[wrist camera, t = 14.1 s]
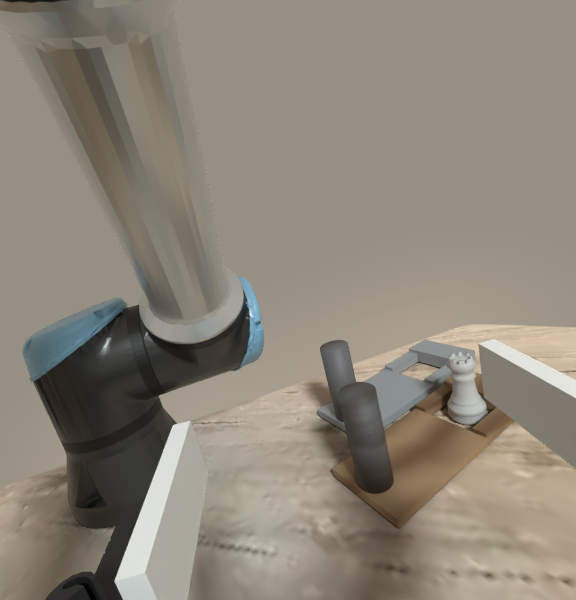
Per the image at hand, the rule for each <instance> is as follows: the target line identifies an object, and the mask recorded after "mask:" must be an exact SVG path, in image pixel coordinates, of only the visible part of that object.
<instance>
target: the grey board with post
mask: <svg viewBox="0 0 576 600" xmlns="http://www.w3.org/2000/svg"><path fill="white" fill-rule="evenodd" d="M320 352H321V356H322V360H323V364H324V369H325V373H326V377H327V381H328V386H329V390H330V394H331V399H332V401H331V402H329V403H328V404H326V405H324V406H323V407H321V408H319V409H317V410H318V414H319V416H320V417H322V418H324V419H325V420H327V421H329V422H330V423H332V424H334V425H335V426H337V427H338V428H340V429H342V430H343V431H345V432H346V429H345V425H344V421H343V416H342V412H341V408H340V403H339V399H338V391H339V390H340V389H341V388H342V387H344V386H345V385H348V384H351V383H355V382H356V380H355V375H354V370H353V366H352V361H351V356H350V352H349V347H348V343H347V342H346V341H343V340H336V341H331V342H328V343H325V344H323V345H322V346H321V347H320ZM457 352H462V355H465V353H466V352H467V353H470V355H472V359H473V360H474V361H476V359H475V351H474V350H470V349H465V348H460V347H456V346H451V345H446V344H441V343H436V342H432V341H427V340H423V341H421V342H420V343H418V344H416V345H415V346H413V347H411V348H409V352H408V353H406V354H404V355H403V356H401V357H399V358H398V359H396V360H394V361H393V362H391V363H389V364H387V365H386V366H385V369H384V370H383V371H381V372H379V373H378V374H376V375H374V376H373V377H371V378H369V379H368V380H366V381H364V382H366V383H370V384H372V385H374V386H375V388H376V392H377V397H378V402H379V407H380V412H381V417H382V422H383V427H386V426H387V425H389V424H390V423H391V422H393V421H394V420H396V419H397V418H398V417H400V416H401V415H403V414H404V413H405V412H407V411H408V410H410V409H411V408H412V407H414V406H415V405H416V404H417V403H419V402H420V401H421V400H423V399H424V398H426V397H427V396H428V395H430V394H431V393H433V392H434V391H436V390H437V389H438V388H440V387H441V386H443V385H444V381H445V380H446V379H447V378H449V377H450V374H451V370H450V369H449V368H448V367H447V366H446V363H447V362H448V360H449V356H450V354H452V353H454V354H455V356H457V355H458V353H457ZM417 362H422V363H425V364H429V365H432V366H436V367H440V369H438V370H437V371H435V372H434V373H432V374H431V375H430V376H428V377H427V378H425V382H424V381H421V380H418V379H415V378H412V377H409V376H406V375H403V374H400V373H401V372H402V371H404V370H405V369H407V368H409V367H410V366H412V365H413V364H415V363H417Z"/></svg>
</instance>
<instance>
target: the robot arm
mask: <svg viewBox="0 0 576 600" xmlns="http://www.w3.org/2000/svg"><path fill="white" fill-rule="evenodd" d="M180 2H181V0H0V28H2V29H3V30H4V31H5V32H6V33H7V34H8V35H9V36H10V38H11V40H12V42H13V44H14V46H15V47H16V50H17V51H18V53H19V55H20V57H21V59H22V61H23V63H24V65H25V67H26V68H27V70H28V72H29V74H30V76H31V78H32V80H33V82H34V84H35V86H36V88H37V90H38V91H39V93H40V95H41V97H42V99H43V101H44V103H45V105H46V107H47V109H48V111H49V112H50V114H51V116H52V118H53V120H54V122H55V124H56V126H57V127H58V129H59V131H60V133H61V135H62V137H63V139H64V141H65V143H66V145H67V147H68V148H69V150H70V152H71V154H72V156H73V158H74V160H75V162H76V164H77V166H78V168H79V170H80V171H81V173H82V175H83V177H84V179H85V181H86V183H87V185H88V187H89V189H90V190H91V192H92V194H93V196H94V198H95V200H96V202H97V204H98V206H99V208H100V210H101V211H102V213H103V215H104V217H105V219H106V221H107V223H108V225H109V226H110V229H111V230H112V232H113V234H114V236H115V238H116V240H117V242H118V244H119V246H120V247H121V249H122V251H123V253H124V255H125V257H126V259H127V261H128V263H129V265H130V267H131V268H132V270H133V272H134V274H135V276H136V278H137V280H138V282H139V284H140V286H141V288H142V289H143V293H142V295H141V299H140V305H136V306H133V307H129V308H127V303H126V302H124V301H123V299H121V298H115V299H112V300H109V301H105V302H102V303H100V304H97V305H95V306H92V307H90V308H87V309H85V310H83V311H80V312H78V313H75V314H73V315H71V316H69V317H66V318H64V319H62V320H60V321H58V322H56V323H54V324H51V325H49V326H47V327H46V328H44V329H42V330H40V331H38V332H37V333H35V334H33V335H32V336H30V337H29V338H28V339H27V340H26V342H25V343H24V346H23V351H22V353H23V356H24V359H25V362H26V365H27V368H28V371H29V374H30V376H31V377H30V380H31V382H33V383H34V385H35V387H36V390H37V392H38V394H39V396H40V398H41V400H42V402H43V405H44V407H45V409H46V411H47V413H48V415H49V417H50V419H51V422H52V424H53V426H54V428H55V430H56V432H57V434H58V436H59V439H60V440H61V443H62V445H63V447H64V449H65V452H66V455H67V482H68V501H69V505H70V508H71V510H72V512H73V514H74V516H75V518H76V520H77V522H78V523H80V524H81V525H83V526H85V527H89V528H105V527H110V526H114V525H116V527H115V530H114V532H113V534H112V536H111V541H109V543H108V546H107V548H106V550H105V554H104V555H103V557H102V559H101V562H100V564H99V566H98V568H97V571H96V573H95V575H94V574H93V573H92V572H81V573H78V574H76V575H73V576H71V577H70V578H68V579H67V580H65V581H63V582H62V583H61V584H60V585H58V586H57V587H56V588H55V589H54V590H53V591H52V592H51V593H50V594H49V596H48V597H47V598H46V600H188V594H189V588H190V582H191V576H192V570H193V564H194V558H195V552H196V546H197V540H198V534H199V528H200V522H201V516H202V510H203V504H204V498H205V492H206V486H207V480H208V474H209V472H208V469H207V466H206V463H205V461H204V458H203V455H202V452H201V449H200V446H199V444H198V441H197V438H196V435H195V432H194V429H193V426H192V424H191V421H187V422H183V423H179V424H177V423H176V422H175V421H174V420H173V419H172V418H171V416H170V415H169V414H168V413H167V412H166V411H165V409H164V408H163V406H162V404H161V402H160V399H159V395H161V394H164V393H167V392H170V391H173V390H176V389H178V388H181V387H184V386H187V385H190V384H193V383H196V382H199V381H202V380H205V379H208V378H211V377H213V376H216V375H219V374H222V373H225V372H228V371H235V370H238V369H240V368H242V367H243V366H245V365H247V364H250V363H252V362H254V361H256V360H257V359H258V358H259V357H260V355H261V353H262V351H263V346H264V332H263V327H262V324H261V313H260V309H259V305H258V302H257V298H256V296H255V294H254V291H253V289H252V287H251V285H250V283H249V282H248V281H247V280H246V279H245V278H243V277H237V276H236V275H235V273H234V272H233V271H231V270H230V269H229V268H228V267H226V266H225V265H224V259H223V254H222V249H221V244H220V239H219V234H218V229H217V224H216V220H215V214H214V209H213V204H212V199H211V194H210V189H209V184H208V178H207V174H206V169H205V163H204V158H203V153H202V148H201V143H200V138H199V133H198V128H197V123H196V118H195V113H194V108H193V103H192V98H191V93H190V88H189V83H188V78H187V72H186V67H185V63H184V57H183V52H182V47H181V42H180V37H179V32H178V27H177V22H176V17H175V14H176V10H177V7H178V5H179V3H180ZM479 354H480V363H481V373H482V383H483V392H484V398H486V399H487V400H488V401H489V402H491V403H492V404H493V405H495V406H496V407H497V408H498V409H500V410H501V411H502V412H503V413H505V414H506V415H507V416H509V417H510V418H511V419H512V420H514V421H515V422H516V423H518V424H519V425H520V426H521V427H523V428H524V429H525V430H527V431H528V432H529V433H530V434H532V435H533V436H534V437H536V438H537V439H538V440H539V441H541V442H542V443H543V444H545V445H546V446H547V447H548V448H550V449H551V450H552V451H554V452H555V453H556V454H557V455H559V456H560V457H561V458H562V459H564V460H565V461H566V462H568V463H569V464H570V465H571V466H573V467H574V468H575V469H576V380H574V379H572V378H570V377H568V376H566V375H564V374H562V373H560V372H558V371H556V370H555V369H553V368H551V367H549V366H547V365H545V364H543V363H541V362H539V361H537V360H535V359H533V358H531V357H529V356H527V355H525V354H523V353H521V352H519V351H517V350H515V349H513V348H511V347H509V346H507V345H505V344H503V343H501V342H499V341H497V340H495V339H493V340H490V341H486V342H482V343H479Z"/></svg>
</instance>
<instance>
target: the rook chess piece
mask: <svg viewBox="0 0 576 600" xmlns="http://www.w3.org/2000/svg"><path fill="white" fill-rule="evenodd" d="M457 353H458V355H457V356H455V354H454V353H452V354H450V356H449V360H448V362H447V363H446V366H447V367H448V368H449V369H450V370H451V374H450V377H451V378H452V382H453V390H452V395H451V396H450V399H449V401H448V415H449V416H450V417H451V418H452V419H453V420H454V421H456V422H458V423H460V424H464V425H476V424H478V423H479V422H480V421H481V420H482V419H483V418H485V417H486V416H487V415H488V410H487V406H486V403H485V401H484V400H483V399H482V398H481V396H480V395H479V393H478V391H477V388H476V385H475V379H474V378H475V377H476V374H475V373H474V372H473V369H474V368H475V367H476V365H477V363H476V361H474V360H473V359H472V355H470V353H467V352H466V353H465V355H462V352H457Z"/></svg>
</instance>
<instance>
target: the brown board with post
mask: <svg viewBox="0 0 576 600" xmlns="http://www.w3.org/2000/svg"><path fill="white" fill-rule="evenodd" d="M475 374H476V377H475V378H474V379H475V385H476V388H477V391H478V393H479V395H480V396H481V398H482V399H483V400H484V401H485V403H486V406H487V409H490V410H492V412H490V413H489V414H488V415H487V416H486V417H485V418H483V419H482V420H481V421H480V422H479V423H478V424H476V425H475V426H474V427H473V428H472V431H473V432H471V431H469V430H466V429H464V428H462V427H459V426H457V425H454V424H452V423H450V422H447V421H445V420H442V419H440V418H438V417H435V416H433V415H434V414H435V413H436V412H438V411H439V410H440V409H441V408H443V407H444V406H445V405H447V404H448V401H449V399H450V396H451V395H452V390H453V382H452V378H451V377H449V378H447V379H446V380H445V381H444V385H443V386H441V387H440V388H438V389H437V390H436V391H434V392H433V393H431V394H430V395H428V396H427V397H426V398H424V399H423V400H421V401H420V402H419V403H417V404H416V405H415V407H416V409H414V410H413V411H411V412H410V413H409V414H407V415H406V416H404V417H403V418H402V419H400V420H399V421H398V422H396V423H395V424H393V425H392V426H391V427H389V428H388V429H386V430H385V431H384V427H383V422H382V417H381V412H380V407H379V402H378V397H377V392H376V388H375V386H374V385H372V384H370V383H366V382H355V383H351V384H348V385H345V386H344V387H342V388H341V389H340V390H339V391H338V399H339V403H340V408H341V412H342V416H343V421H344V425H345V429H346V434H347V438H348V443H349V447H350V451H351V455H350V456H349V457H347V458H346V459H345V460H343V461H342V462H340V463H339V464H338V465H336V466H335V467H334V468H332V470H333V474H334V476H335V477H336V478H337V479H338V480H340V481H341V482H342V483H343V484H344V485H346V486H347V487H348V488H349V489H351V490H352V491H353V492H354V493H356V494H357V495H358V496H359V497H361V498H362V499H363V500H364V501H365V502H367V503H368V504H369V505H370V506H372V507H373V508H374V509H375V510H377V511H378V512H379V513H380V514H382V515H383V516H384V517H385V518H387V519H388V520H389V521H390V522H391V523H393V524H394V525H395V526H396V527H398V528H400V527H401V526H402V525H403V524H404V523H405V522H406V521H407V520H409V519H410V518H411V517H412V516H413V515H414V514H415V513H416V512H417V511H418V510H419V509H420V508H421V507H422V506H423V505H425V504H426V503H427V502H428V501H429V500H430V499H431V498H432V497H433V496H434V495H435V494H436V493H437V492H438V491H440V490H441V489H442V488H443V487H444V486H445V485H446V484H447V483H448V482H449V481H450V480H451V479H452V478H453V477H454V476H456V475H457V474H458V473H459V472H460V471H461V470H462V469H463V468H464V467H465V466H466V465H467V464H468V463H469V462H471V461H472V460H473V459H474V458H475V457H476V456H477V455H478V454H479V453H480V452H481V451H482V450H483V449H484V448H486V447H487V446H488V445H489V444H490V443H491V442H492V441H493V440H494V439H495V438H496V437H497V436H498V435H499V434H500V433H502V432H503V431H504V430H505V429H506V428H507V427H508V426H509V425H510V424H511V423H512V422H513V421H514V420H512V419H511V418H510V417H509V416H507V415H506V414H505V413H503V412H502V411H501V410H500V409H498V408H497V407H496V406H495V405H493V404H492V403H491V402H489V401H488V400H487V399H486V398H484V392H483V383H482V374H478V373H475Z"/></svg>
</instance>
